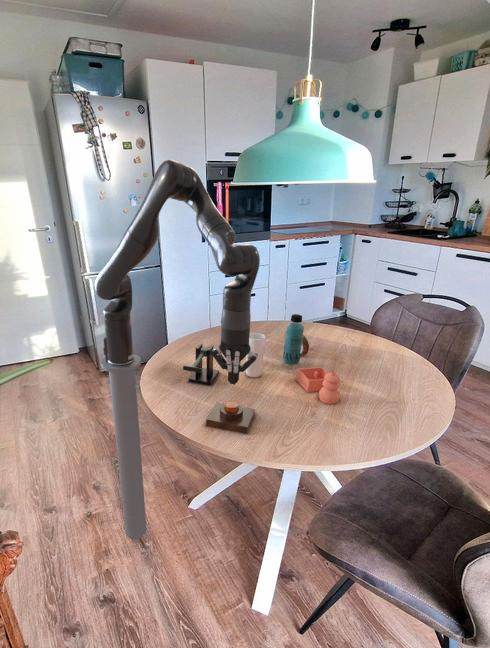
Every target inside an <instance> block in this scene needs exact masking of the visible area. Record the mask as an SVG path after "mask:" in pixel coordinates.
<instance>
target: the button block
mask: <svg viewBox="0 0 490 648" xmlns="http://www.w3.org/2000/svg"><path fill="white" fill-rule="evenodd" d="M226 403H227V402H226ZM226 403H225V402H218V401H217V402H215V404H214V406H213V407H212V408H211V410H210V413H209V414H208V416H207V417H206V419H205V426H206V427H210V428H215V429H221V430H225V431H230V432H236V433H241V434H246V435H247V434H249V431H250V428H251V426H252V423H253V421H254V418H255V416H256V415H255V414H256V408H252V407H248V406H247V407H246V406H242V405H241V404H239V403H237V404H238V411H237V412H235V413H230V412H227V411H226V410H225V404H226Z"/></svg>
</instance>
